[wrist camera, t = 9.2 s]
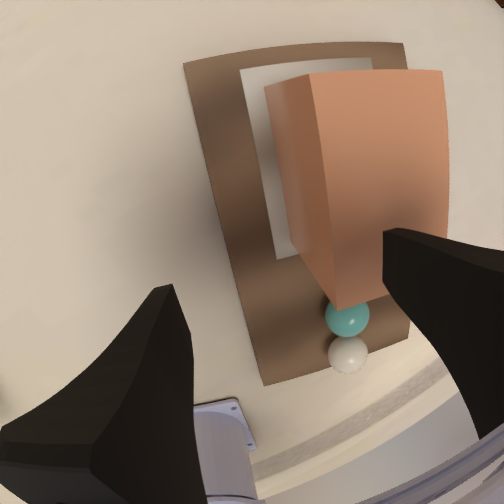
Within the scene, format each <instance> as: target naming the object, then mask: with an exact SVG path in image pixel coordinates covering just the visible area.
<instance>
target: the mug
mask: <svg viewBox="0 0 504 504" xmlns="http://www.w3.org/2000/svg"><path fill="white" fill-rule="evenodd" d="M495 1H496V2H497V3H498V4H499V6H500V7H501V8H504V0H495Z"/></svg>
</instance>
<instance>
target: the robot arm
mask: <svg viewBox="0 0 504 504" xmlns="http://www.w3.org/2000/svg"><path fill="white" fill-rule="evenodd" d="M382 282H383V284H384V285H385V287H386V288H387V290H388V292H389V293H390V295H391V296H392V298H393V299H394V301H395V302H396V303H397V305H398V306H399V307H400V308H401V309H402V310H403V312H404V313H405V314H406V315H407V316H408V317H409V318H410V320H411V321H412V322H413V323H414V324H415V325H416V327H417V328H418V329H419V330H420V331H421V332H422V334H423V335H424V336H425V337H426V338H427V339H428V341H429V342H430V343H431V344H432V346H433V347H434V348H435V350H436V351H437V353H438V354H439V356H440V357H441V359H442V361H443V362H444V364H445V365H446V367H447V369H448V370H449V372H450V374H451V376H452V377H453V379H454V381H455V383H456V385H457V387H458V389H459V390H460V393H461V395H462V397H463V399H464V401H465V403H466V406H467V408H468V410H469V412H470V415H471V417H472V420H473V423H474V425H475V428H476V431H477V434H478V437H479V441H477V442H476V443H474V444H473V445H471V446H470V447H468V448H467V449H465V450H464V451H462V452H460V453H459V454H457V455H456V456H454V457H452V458H451V459H449V460H447V461H445V462H444V463H442V464H440V465H439V466H437V467H435V468H433V469H431V470H429V471H428V472H425V473H424V474H422V475H420V476H418V477H416V478H414V479H412V480H410V481H408V482H406V483H404V484H401V485H399V486H397V487H395V488H393V489H390V490H388V491H386V492H384V493H381V494H379V495H377V496H374V497H372V498H369V499H367V500H364V501H362V502H359V503H356V504H427V503H430V502H431V501H433V500H435V499H437V498H439V497H440V496H442V495H444V494H446V493H447V492H449V491H451V490H452V489H454V488H455V487H457V486H459V485H460V484H462V483H464V482H465V481H467V480H468V479H470V478H471V477H472V476H474V475H475V474H477V473H479V472H480V471H481V470H483V469H484V468H486V467H487V466H488V465H490V464H491V463H493V462H494V461H495V460H497V459H498V458H499V457H501V456H502V455H503V454H504V251H501V250H495V249H489V248H483V247H478V246H474V245H470V244H465V243H461V242H457V241H453V240H450V239H446V238H442V237H438V236H435V235H431V234H427V233H423V232H419V231H415V230H411V229H405V228H393V229H390V230H386V231H383V268H382ZM255 449H256V444H255V442H254V439H253V437H252V434H251V432H250V430H249V427H248V425H247V422H246V420H245V418H244V415H243V413H242V410H241V408H240V405H239V403H238V401H237V400H236V399H228V400H223V401H219V402H214V403H209V404H204V405H199V406H194V357H193V348H192V340H191V333H190V330H189V328H188V325H187V322H186V320H185V317H184V314H183V312H182V309H181V306H180V304H179V301H178V298H177V295H176V293H175V290H174V287H173V284H169V285H165V286H161V287H156V288H154V289H153V290H152V291H151V292H150V294H149V295H148V296H147V298H146V299H145V300H144V302H143V303H142V304H141V306H140V307H139V308H138V310H137V311H136V312H135V314H134V315H133V316H132V318H131V319H130V320H129V322H128V323H127V324H126V325H125V327H124V328H123V329H122V330H121V331H120V333H119V334H118V335H117V336H116V338H115V339H114V340H113V341H112V342H111V344H110V345H109V346H108V347H107V348H106V349H105V350H104V351H103V352H102V354H101V355H100V356H99V357H98V358H97V359H96V360H95V361H94V362H93V363H92V364H91V365H90V366H88V367H87V368H86V369H85V370H84V371H83V372H82V373H81V374H79V375H78V376H77V377H76V378H75V379H74V380H72V381H71V382H70V383H69V384H68V385H67V386H65V387H64V388H63V389H62V390H60V391H59V392H58V393H56V394H55V395H53V396H52V397H51V398H49V399H48V400H46V401H45V402H43V403H42V404H40V405H39V406H37V407H36V408H34V409H33V410H31V411H29V412H28V413H26V414H24V415H22V416H20V417H19V418H17V419H15V420H13V421H11V422H10V423H8V424H6V425H4V426H2V428H1V431H0V484H2V485H3V486H4V487H5V488H6V489H8V490H9V491H10V492H12V493H13V494H15V495H16V496H17V497H19V498H20V499H22V500H23V501H25V502H26V503H28V504H266V502H265V500H258V497H257V492H256V488H255V483H254V478H253V473H252V469H251V464H250V459H249V454H248V451H252V450H255ZM453 504H504V461H503V462H502V463H501V464H500V465H499V466H498V467H497V469H496V470H495V471H493V472H492V474H490V475H489V476H488V477H487V478H486V479H485V480H484V481H483V482H482V484H481V485H480V486H478V487H477V488H475V489H474V490H472V491H471V492H469V493H468V494H466V495H465V496H464V497H462V498H460V499H459V500H457V501H456V502H454V503H453Z"/></svg>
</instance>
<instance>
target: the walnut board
mask: <svg viewBox="0 0 504 504" xmlns="http://www.w3.org/2000/svg"><path fill="white" fill-rule="evenodd" d="M183 66H184V70H185V75H186V79H187V84H188V88H189V93H190V97H191V101H192V106H193V110H194V115H195V119H196V123H197V128H198V132H199V136H200V140H201V145H202V149H203V153H204V157H205V161H206V166H207V170H208V174H209V178H210V182H211V186H212V190H213V195H214V199H215V203H216V207H217V211H218V215H219V219H220V223H221V227H222V231H223V235H224V239H225V243H226V247H227V250H228V254H229V258H230V262H231V266H232V270H233V274H234V278H235V281H236V285H237V289H238V293H239V297H240V300H241V304H242V308H243V312H244V315H245V319H246V323H247V327H248V330H249V334H250V338H251V341H252V345H253V349H254V352H255V356H256V360H257V363H258V367H259V371H260V374H261V378H262V381H263V385H264V386H268V385H271V384H275V383H279V382H282V381H286V380H290V379H293V378H296V377H300V376H303V375H307V374H310V373H313V372H316V371H320V370H323V369H326V368H329V367H332V366H331V365H330V363H329V361H328V349H329V346H330V344H331V343H332V342H333V340H334V339H336V338H337V337H339V336H338V335H336V334H334V333H333V332H332V331H331V330H330V329H329V327H328V326H327V323H326V320H325V311H326V307H327V305H328V303H329V302H330V300H329V298H328V297H327V295H326V294H325V292H324V291H323V289H322V288H321V286H320V285H319V283H318V282H317V280H316V279H315V277H314V276H313V274H312V273H311V271H310V270H309V268H308V267H307V265H306V264H305V262H304V261H303V259H302V258H301V257H300V255H299V254H298V252H297V251H296V249H295V248H294V246H293V245H292V243H291V239H290V232H289V226H288V220H287V214H286V207H285V201H284V195H283V190H282V184H281V178H280V172H279V167H278V161H277V155H276V150H275V144H274V139H273V134H272V128H271V123H270V118H269V113H268V108H267V102H266V97H265V92H264V88H263V87H265V86H268V85H272V84H275V83H278V82H281V81H285V80H288V79H292V78H295V77H299V76H302V75H306V74H311V73H321V72H334V71H349V70H375V69H408V68H407V62H406V56H405V51H404V46H403V43H389V42H330V43H312V44H299V45H288V46H278V47H270V48H262V49H255V50H248V51H242V52H236V53H230V54H225V55H220V56H215V57H210V58H205V59H200V60H196V61H192V62H187V63H183ZM366 303H367V304H368V307H369V311H370V317H369V321H368V324H367V326H366V327H365V329H364V330H363V331H362V332H360V333H359V334H357V336H358V337H360V338H361V339H362V340H363V341H364V342H365V344H366V346H367V349H368V354H369V353H372V352H374V351H377V350H380V349H382V348H385V347H387V346H390V345H393V344H395V343H398V342H400V341H402V340H405V339H407V338H408V334H409V327H410V318H409V317H408V316H407V315H406V314H405V313H404V312H403V310H402V309H401V308H400V307H399V306H398V305H397V303H396V302H395V301H394V299H393V298H392V296H391V295H390V294H388V295H385V296H382V297H379V298H376V299H373V300H370V301H367V302H366Z"/></svg>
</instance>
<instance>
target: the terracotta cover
mask: <svg viewBox="0 0 504 504" xmlns="http://www.w3.org/2000/svg"><path fill="white" fill-rule="evenodd" d="M263 88H264V92H265V97H266V102H267V108H268V113H269V118H270V123H271V128H272V134H273V139H274V144H275V150H276V155H277V161H278V167H279V172H280V178H281V184H282V190H283V195H284V201H285V207H286V214H287V220H288V226H289V232H290V239H291V243H292V245H293V246H294V248H295V249H296V251H297V252H298V254H299V255H300V257H301V258H302V259H303V261H304V262H305V264H306V265H307V267H308V268H309V270H310V271H311V273H312V274H313V276H314V277H315V279H316V280H317V282H318V283H319V285H320V286H321V288H322V289H323V291H324V292H325V294H326V295H327V297H328V298H329V300H330V301H331V303H332V304H333V306H334V307H335V309H336V310H337V311H339V310H342V309H345V308H349V307H352V306H355V305H358V304H361V303H364V302H367V301H370V300H373V299H376V298H379V297H382V296H385V295H388V294H390V293H389V292H388V290H387V288H386V287H385V285H384V284H383V282H382V268H383V231H386V230H390V229H393V228H405V229H411V230H415V231H419V232H423V233H427V234H431V235H435V236H438V237H442V238H446V239H447V228H448V211H449V140H448V123H447V111H446V100H445V91H444V83H443V76H442V71H435V70H410V69H375V70H349V71H334V72H321V73H311V74H306V75H302V76H299V77H295V78H292V79H288V80H285V81H281V82H278V83H275V84H272V85H268V86H265V87H263Z"/></svg>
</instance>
